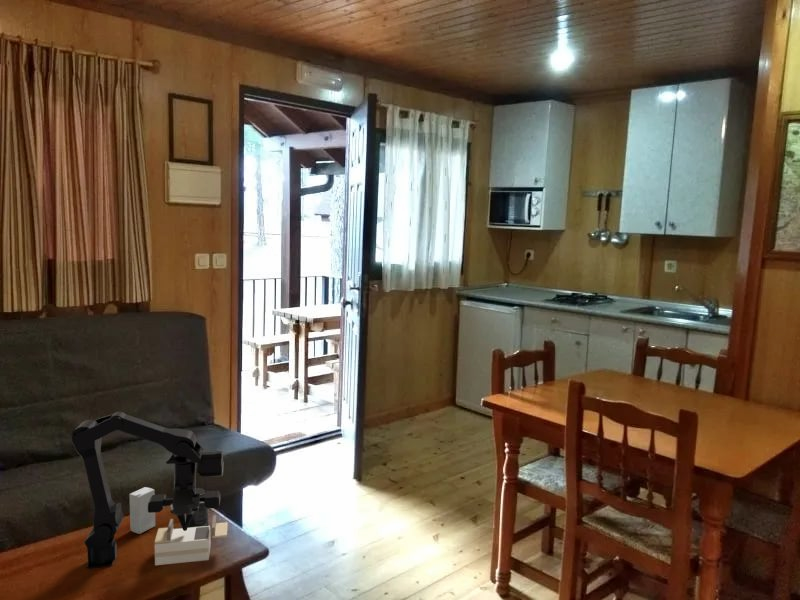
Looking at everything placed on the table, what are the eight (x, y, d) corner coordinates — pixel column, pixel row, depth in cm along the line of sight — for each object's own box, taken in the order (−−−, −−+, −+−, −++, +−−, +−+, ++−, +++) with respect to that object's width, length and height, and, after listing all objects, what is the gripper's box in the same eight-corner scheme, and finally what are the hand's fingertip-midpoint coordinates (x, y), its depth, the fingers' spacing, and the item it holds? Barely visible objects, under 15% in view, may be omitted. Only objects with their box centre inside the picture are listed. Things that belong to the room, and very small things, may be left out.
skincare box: (146, 523, 192) (145, 485, 190) (156, 526, 189) (155, 488, 188) (129, 531, 186) (128, 493, 185) (139, 535, 184) (138, 496, 183)
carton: (154, 565, 168) (154, 544, 167) (159, 550, 176) (158, 530, 175) (208, 560, 171) (208, 539, 171) (210, 545, 179) (210, 525, 178)
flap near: (173, 528, 176) (173, 518, 175) (170, 542, 168) (169, 531, 168) (158, 530, 175) (158, 520, 174) (154, 543, 168) (154, 533, 167)
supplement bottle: (180, 530, 187) (179, 493, 186) (197, 521, 193) (196, 484, 192) (197, 536, 184) (196, 498, 183) (213, 526, 190) (213, 489, 189)
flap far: (211, 538, 171) (211, 527, 171) (213, 525, 178) (213, 515, 178) (226, 536, 172) (226, 526, 172) (227, 523, 179) (227, 514, 179)
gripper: (144, 491, 161) (144, 547, 163) (218, 486, 165) (218, 541, 167) (150, 474, 172) (151, 527, 174) (220, 470, 176) (220, 522, 178)
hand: (185, 530), depth 173 cm, fingers closed
